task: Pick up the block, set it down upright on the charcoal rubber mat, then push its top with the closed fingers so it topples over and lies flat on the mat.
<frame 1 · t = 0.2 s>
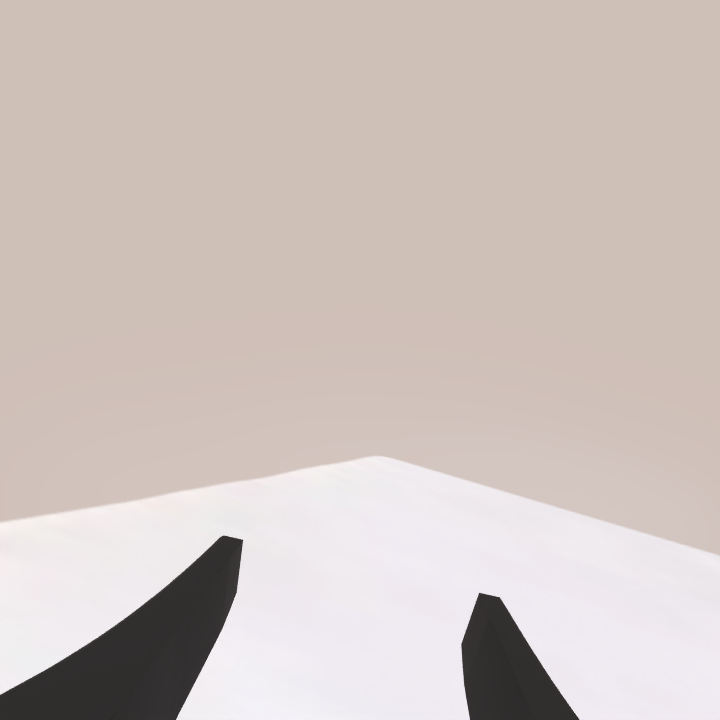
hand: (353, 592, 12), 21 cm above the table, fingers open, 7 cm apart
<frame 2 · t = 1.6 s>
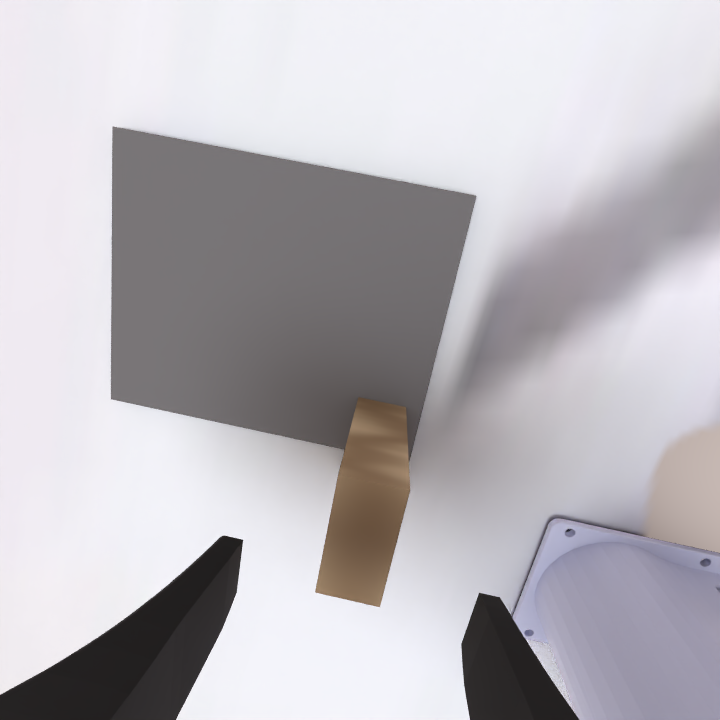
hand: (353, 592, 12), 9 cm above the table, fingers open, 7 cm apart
block: (372, 446, 21), on the table, touching mat
mat: (275, 307, 19), on the table
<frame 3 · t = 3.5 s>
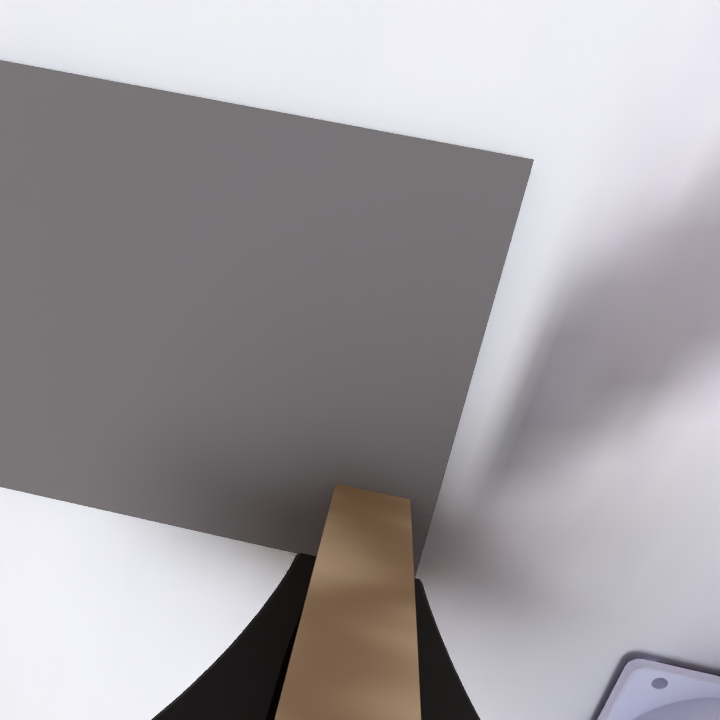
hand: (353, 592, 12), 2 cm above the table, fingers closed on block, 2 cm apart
block: (358, 554, 13), on the table, touching gripper, mat
mat: (203, 344, 12), on the table
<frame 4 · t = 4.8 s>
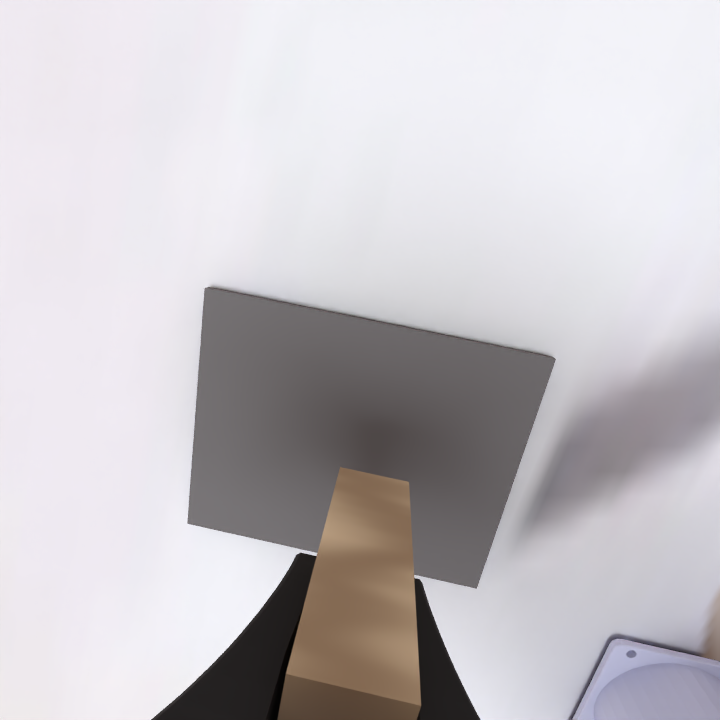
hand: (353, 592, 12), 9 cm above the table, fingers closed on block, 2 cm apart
block: (360, 534, 14), point 6 cm above the table, touching gripper
mat: (352, 446, 20), on the table
when the fingers open (3 cm above the table, at t = 6.4 s): block stays where it is, resting on mat.
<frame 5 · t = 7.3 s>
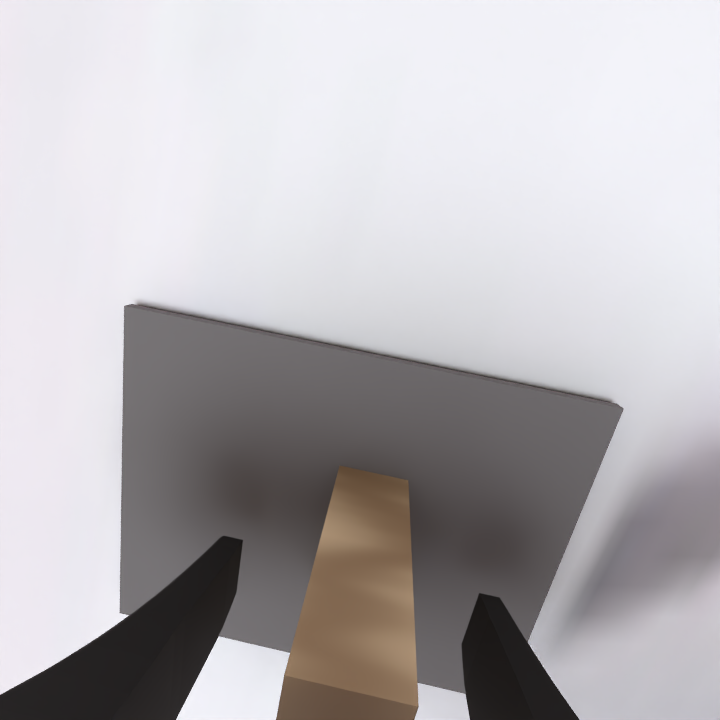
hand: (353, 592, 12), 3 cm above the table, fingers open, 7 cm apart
block: (360, 532, 14), resting on mat
mat: (335, 518, 15), on the table
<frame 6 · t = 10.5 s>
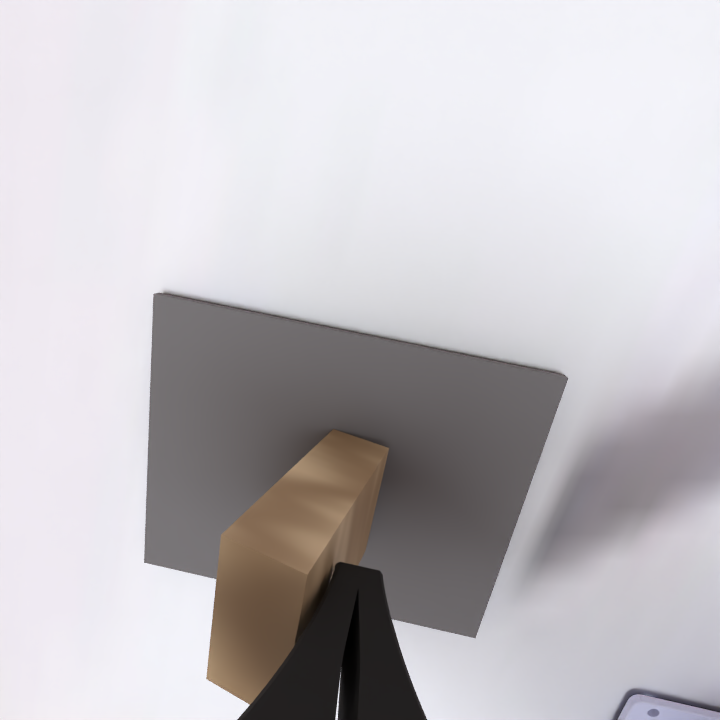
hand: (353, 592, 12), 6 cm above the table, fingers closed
block: (349, 491, 17), point 1 cm above the table, tilted 15°, touching gripper, mat
mat: (330, 476, 17), on the table
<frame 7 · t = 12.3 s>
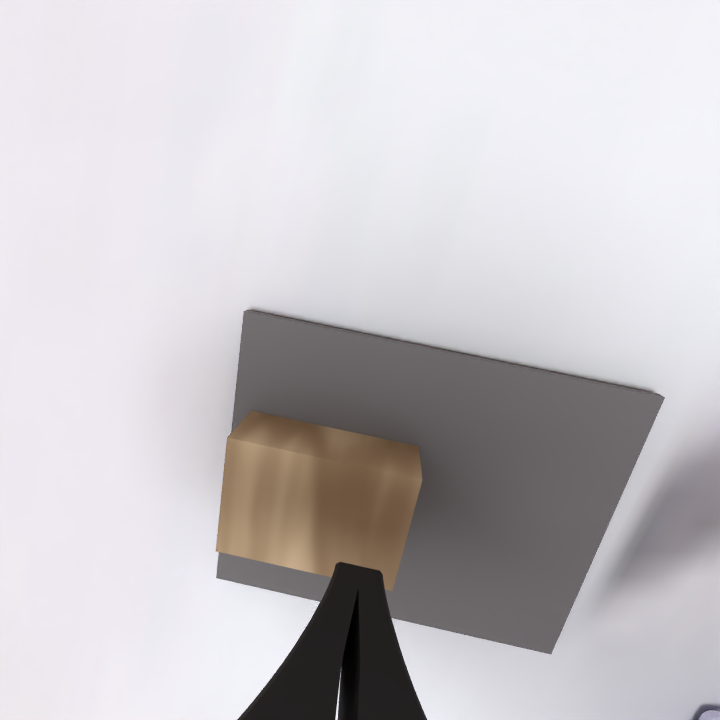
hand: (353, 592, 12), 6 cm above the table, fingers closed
block: (406, 516, 16), point 2 cm above the table, tilted 90°, touching mat
mat: (411, 493, 17), on the table
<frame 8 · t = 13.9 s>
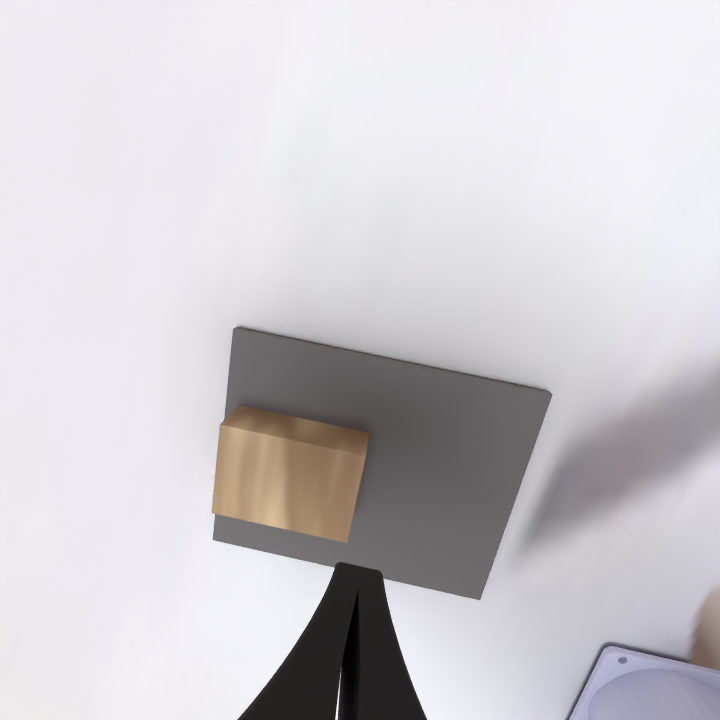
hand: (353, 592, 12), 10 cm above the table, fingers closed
block: (358, 486, 20), point 2 cm above the table, tilted 90°, touching mat
mat: (366, 470, 22), on the table
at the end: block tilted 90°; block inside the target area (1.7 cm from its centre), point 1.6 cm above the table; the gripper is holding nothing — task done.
